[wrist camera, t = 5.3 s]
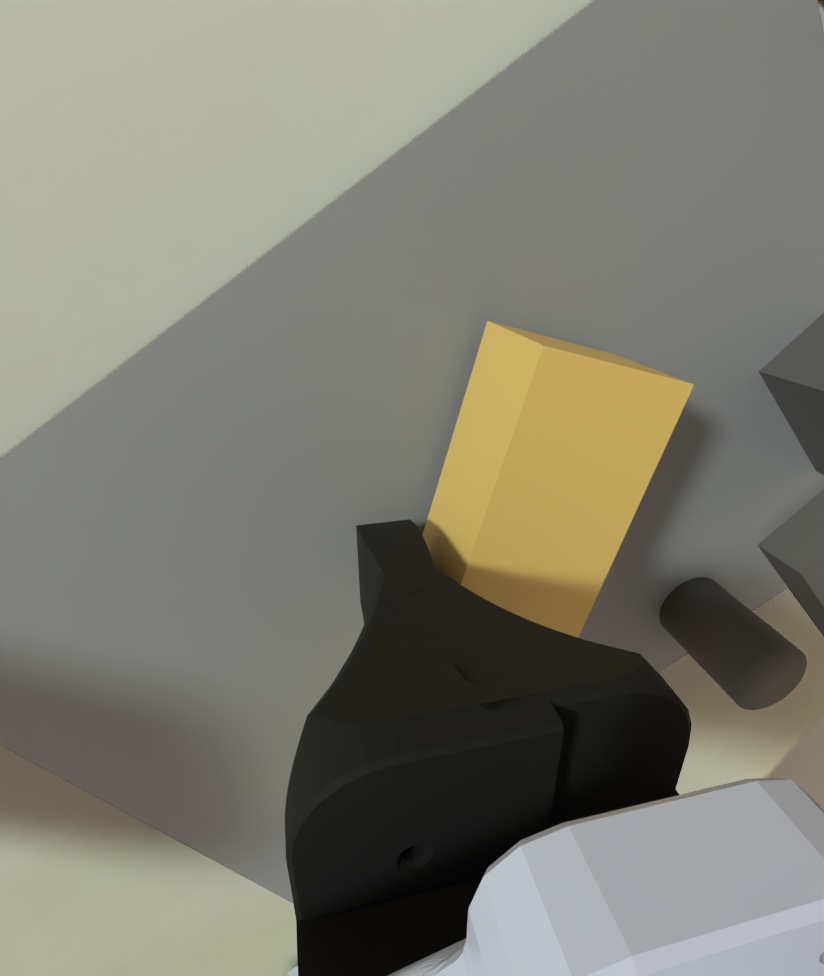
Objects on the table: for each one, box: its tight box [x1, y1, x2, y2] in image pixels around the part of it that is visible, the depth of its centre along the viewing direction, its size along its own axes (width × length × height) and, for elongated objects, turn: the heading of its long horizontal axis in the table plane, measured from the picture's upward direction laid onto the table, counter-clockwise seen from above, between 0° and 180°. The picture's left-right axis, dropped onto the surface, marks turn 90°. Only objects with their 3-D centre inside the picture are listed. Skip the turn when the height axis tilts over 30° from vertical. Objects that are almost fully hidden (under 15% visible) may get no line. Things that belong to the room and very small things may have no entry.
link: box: [423, 321, 694, 638], centre depth 13 cm, size 15×5×3 cm, turn 165°
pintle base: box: [0, 0, 824, 903], centre depth 12 cm, size 16×23×6 cm
